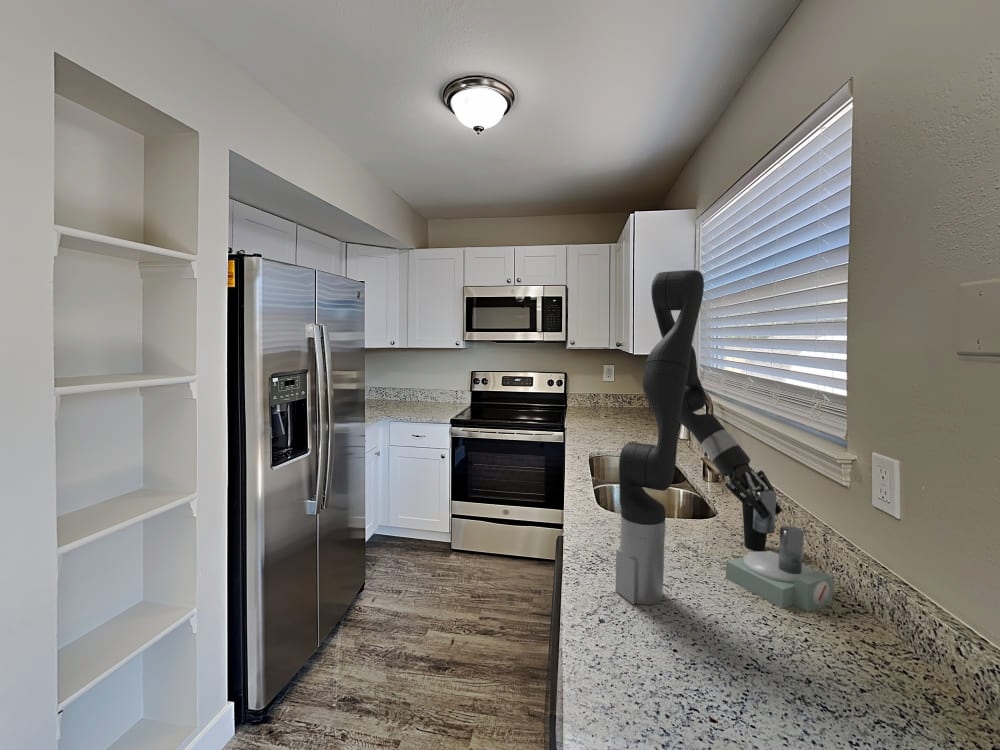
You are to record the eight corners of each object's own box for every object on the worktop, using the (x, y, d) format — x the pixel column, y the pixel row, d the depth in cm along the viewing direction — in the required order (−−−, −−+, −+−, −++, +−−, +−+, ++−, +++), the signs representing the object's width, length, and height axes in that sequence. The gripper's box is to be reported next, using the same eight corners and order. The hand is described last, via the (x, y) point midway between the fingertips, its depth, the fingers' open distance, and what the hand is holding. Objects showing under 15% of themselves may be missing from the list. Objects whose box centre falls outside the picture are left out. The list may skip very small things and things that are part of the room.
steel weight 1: (765, 534, 106) (767, 495, 105) (748, 527, 110) (750, 490, 109) (778, 531, 107) (780, 493, 107) (761, 524, 111) (763, 487, 111)
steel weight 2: (793, 575, 101) (795, 535, 100) (773, 566, 105) (775, 527, 104) (806, 571, 103) (808, 532, 102) (787, 563, 107) (788, 524, 106)
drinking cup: (768, 556, 121) (772, 480, 120) (736, 548, 126) (739, 475, 125) (772, 546, 128) (776, 474, 126) (741, 539, 132) (744, 469, 131)
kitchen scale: (798, 617, 94) (800, 588, 94) (725, 577, 110) (726, 552, 110) (844, 601, 100) (846, 574, 100) (769, 566, 116) (770, 542, 116)
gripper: (718, 447, 109) (769, 513, 100) (751, 440, 117) (801, 501, 108) (697, 464, 114) (744, 529, 105) (730, 457, 122) (776, 516, 113)
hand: (772, 514), depth 107 cm, fingers closed on steel weight 1, 4 cm apart
